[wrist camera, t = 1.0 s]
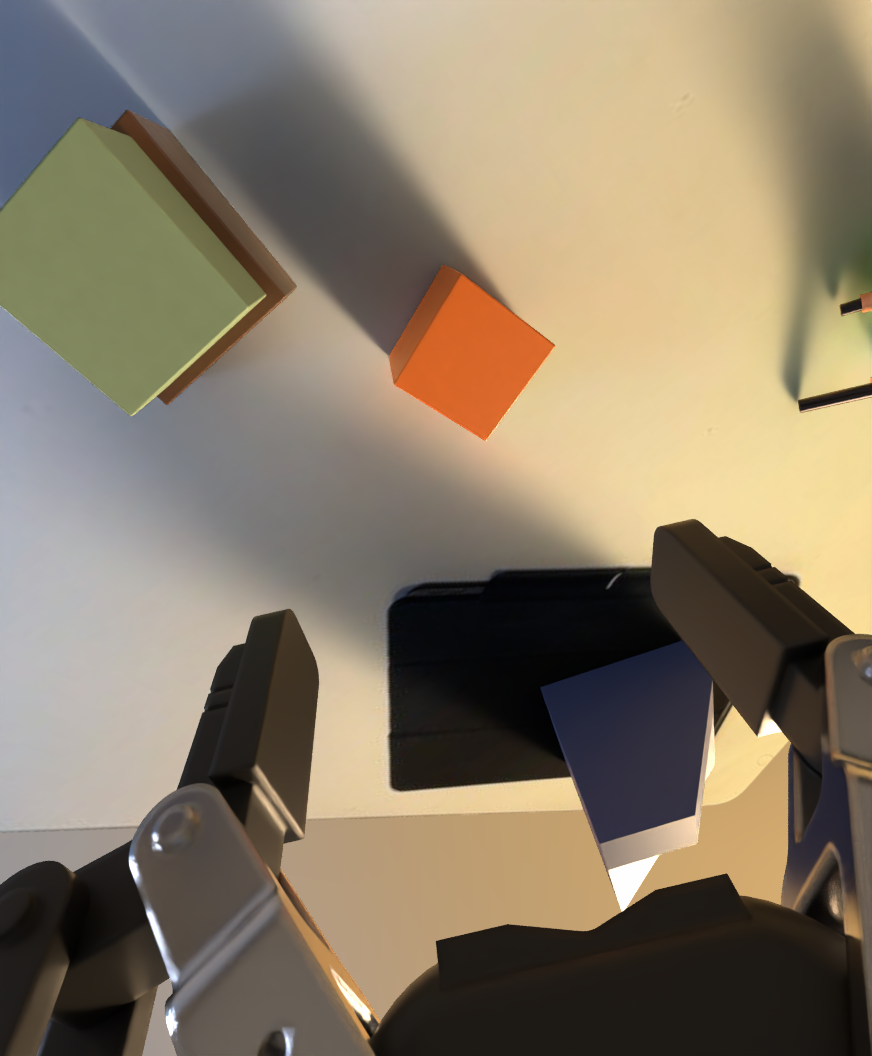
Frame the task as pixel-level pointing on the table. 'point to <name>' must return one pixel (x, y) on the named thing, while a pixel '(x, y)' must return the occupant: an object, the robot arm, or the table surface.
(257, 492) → the table surface
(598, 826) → the phone stand
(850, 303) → the stick construction toy
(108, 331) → the green block
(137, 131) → the walnut block
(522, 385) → the toy cube
